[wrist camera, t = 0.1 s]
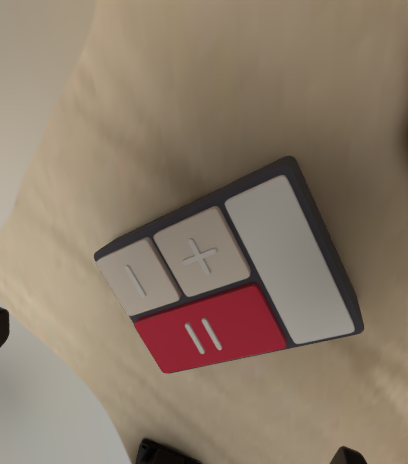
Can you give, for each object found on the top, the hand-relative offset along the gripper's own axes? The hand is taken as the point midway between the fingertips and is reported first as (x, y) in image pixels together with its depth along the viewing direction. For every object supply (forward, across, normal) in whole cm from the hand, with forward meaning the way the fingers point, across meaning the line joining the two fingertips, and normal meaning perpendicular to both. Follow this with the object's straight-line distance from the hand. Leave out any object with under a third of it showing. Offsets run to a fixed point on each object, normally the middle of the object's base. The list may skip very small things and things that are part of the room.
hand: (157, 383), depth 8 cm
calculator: (+15, 0, +4) cm, 16 cm away
